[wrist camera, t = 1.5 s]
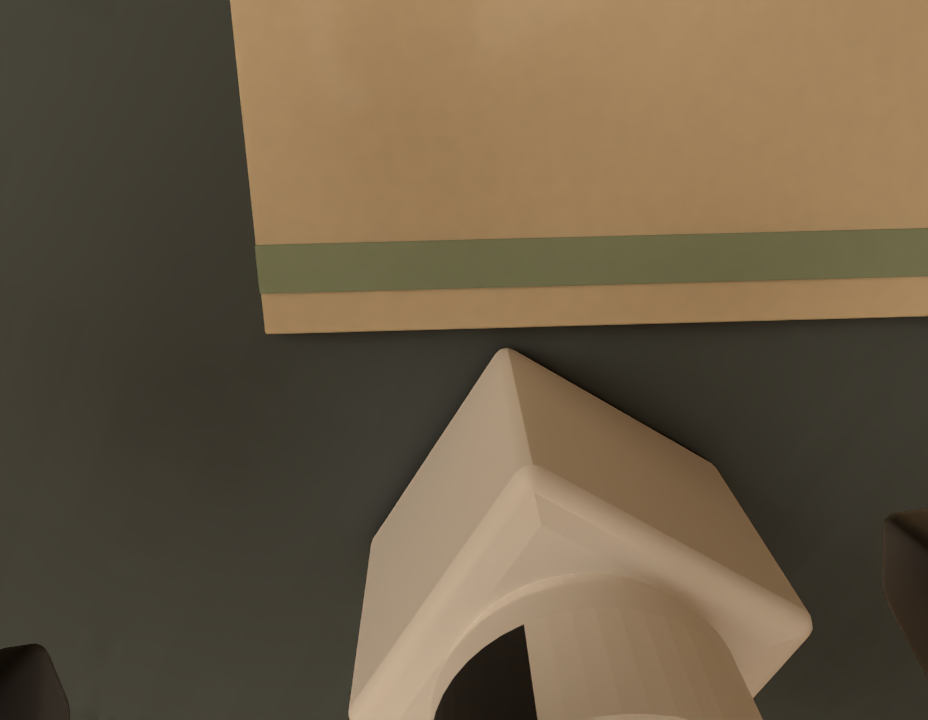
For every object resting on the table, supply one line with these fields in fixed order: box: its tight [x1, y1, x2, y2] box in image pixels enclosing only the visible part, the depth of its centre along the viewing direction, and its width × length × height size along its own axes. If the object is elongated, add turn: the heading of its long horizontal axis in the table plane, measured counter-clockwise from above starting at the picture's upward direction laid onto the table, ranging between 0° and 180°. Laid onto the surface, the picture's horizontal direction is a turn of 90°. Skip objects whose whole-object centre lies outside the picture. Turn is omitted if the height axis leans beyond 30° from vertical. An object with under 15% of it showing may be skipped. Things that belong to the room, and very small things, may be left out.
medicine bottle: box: [348, 348, 813, 720], centre depth 19 cm, size 7×7×12 cm
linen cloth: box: [230, 0, 928, 334], centre depth 20 cm, size 20×11×1 cm, turn 91°
